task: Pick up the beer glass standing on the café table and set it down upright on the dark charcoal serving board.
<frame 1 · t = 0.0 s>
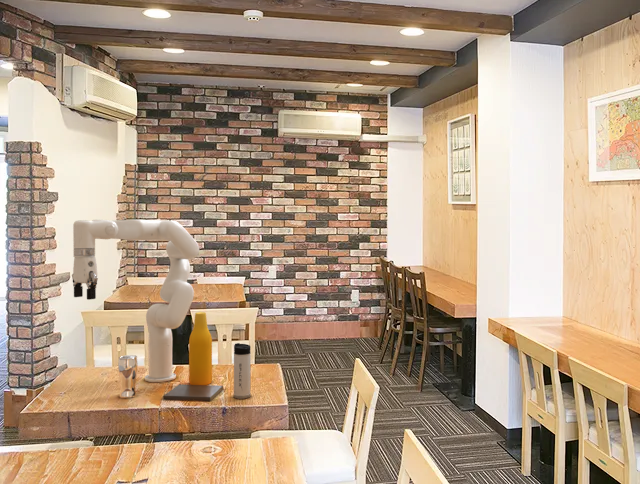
hand: (84, 298, 242), 37 cm above the table, tool pointing down, fingers open, 9 cm apart
serving board: (194, 394, 246), on the table
travel mug: (241, 397, 243), on the table
beer bottle: (200, 383, 262), on the table
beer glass: (128, 396, 243), on the table
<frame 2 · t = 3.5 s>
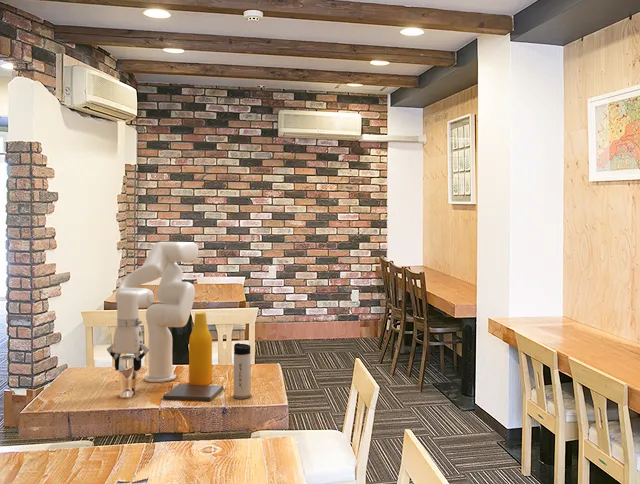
hand: (127, 369, 242), 10 cm above the table, tool pointing down, fingers closed on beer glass, 7 cm apart
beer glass: (128, 396, 243), on the table, touching gripper
everything else where it was.
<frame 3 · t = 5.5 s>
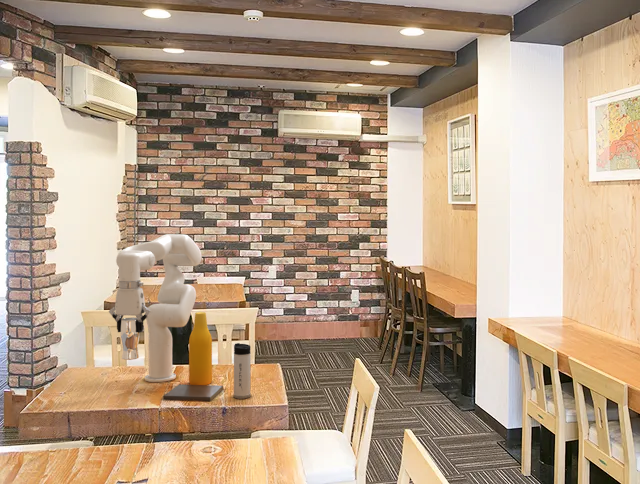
hand: (130, 331, 242), 25 cm above the table, tool pointing down, fingers closed on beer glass, 7 cm apart
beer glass: (130, 358, 243), point 14 cm above the table, touching gripper
everything else where it was.
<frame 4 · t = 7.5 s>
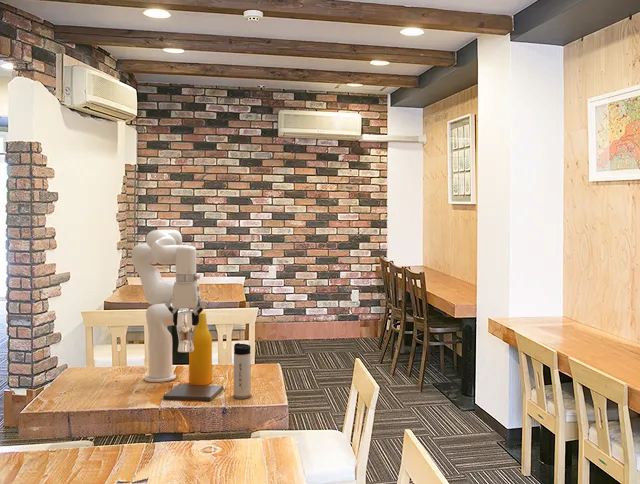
hand: (186, 324, 244), 27 cm above the table, tool pointing down, fingers closed on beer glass, 7 cm apart
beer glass: (186, 351, 245), point 17 cm above the table, touching gripper
everything else where it was.
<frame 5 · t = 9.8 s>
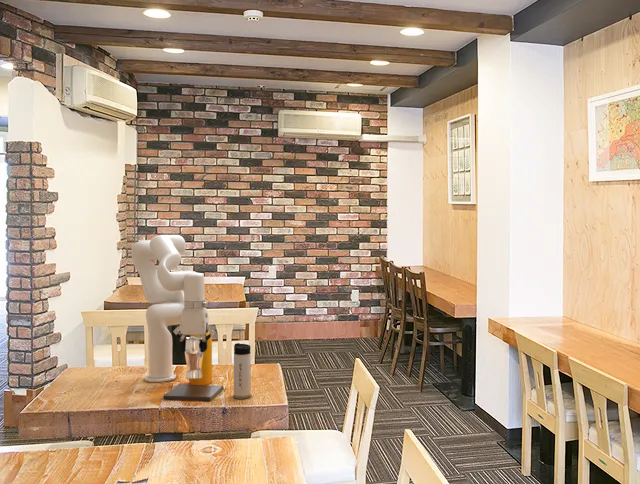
hand: (194, 350, 245), 17 cm above the table, tool pointing down, fingers closed on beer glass, 7 cm apart
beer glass: (194, 377, 245), point 6 cm above the table, touching gripper
everything else where it was.
when the fingers open (12 cm above the table, at t = 11.6 s): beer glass stays where it is, resting on serving board.
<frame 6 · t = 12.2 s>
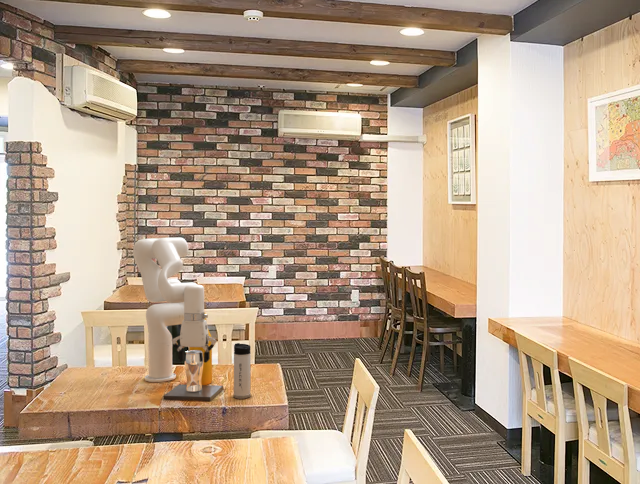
hand: (194, 361, 245), 13 cm above the table, tool pointing down, fingers open, 9 cm apart
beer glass: (194, 391, 246), point 1 cm above the table, touching serving board
everything else where it was.
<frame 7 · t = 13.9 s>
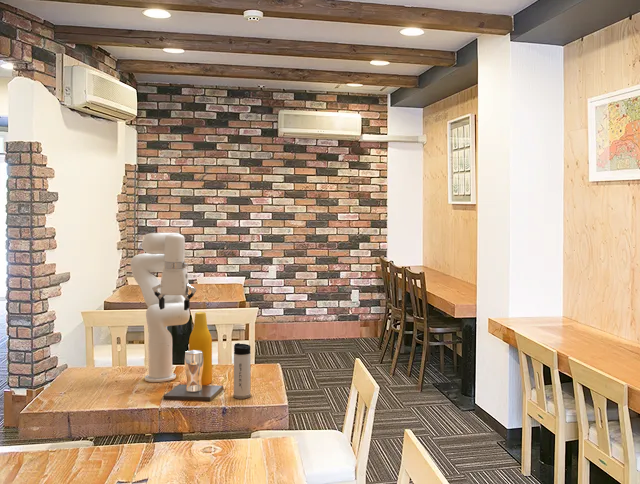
hand: (174, 309, 251), 32 cm above the table, tool pointing down, fingers open, 9 cm apart
nothing on the table moved.
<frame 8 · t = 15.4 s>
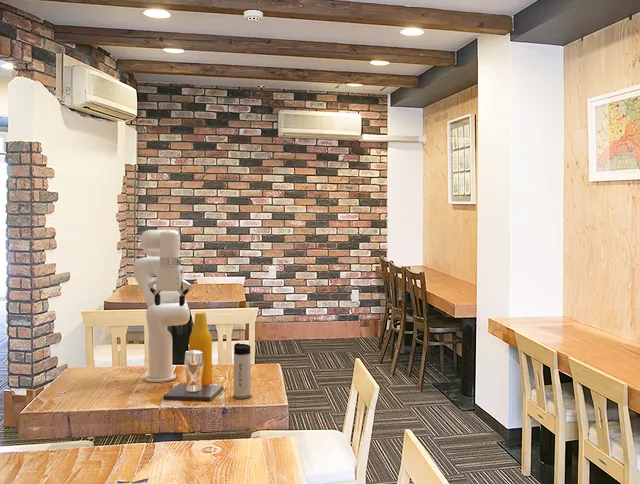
hand: (169, 305, 252), 33 cm above the table, tool pointing down, fingers open, 9 cm apart
nothing on the table moved.
at the end: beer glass inside the target area on the serving board (0.0 cm from its centre), point 1.3 cm above the serving board's base; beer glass tilted 0°; the gripper is holding nothing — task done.
